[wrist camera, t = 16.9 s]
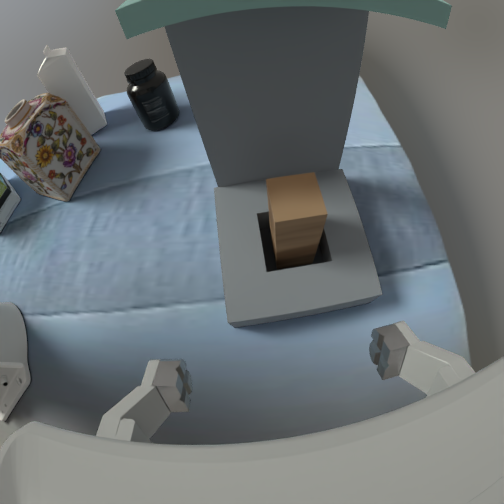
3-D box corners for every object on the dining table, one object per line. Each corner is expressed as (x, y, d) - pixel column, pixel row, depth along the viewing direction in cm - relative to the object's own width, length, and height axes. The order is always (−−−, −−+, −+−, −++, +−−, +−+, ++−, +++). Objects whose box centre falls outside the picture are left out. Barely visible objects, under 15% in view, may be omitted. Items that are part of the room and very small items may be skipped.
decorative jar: (103, 149, 42) (54, 77, 25) (69, 204, 38) (3, 138, 21) (67, 147, 44) (22, 89, 28) (37, 194, 40) (-19, 141, 24)
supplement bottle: (185, 106, 43) (167, 52, 32) (171, 131, 41) (147, 74, 30) (153, 108, 44) (131, 59, 33) (138, 133, 42) (110, 82, 31)
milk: (104, 112, 47) (61, 34, 26) (107, 125, 45) (59, 40, 24) (81, 127, 46) (33, 54, 26) (82, 141, 44) (29, 62, 24)
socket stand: (370, 302, 28) (568, 110, 3) (234, 327, 29) (12, 134, 3) (332, 176, 35) (365, -35, 9) (219, 193, 35) (147, -21, 10)
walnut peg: (312, 263, 30) (327, 214, 20) (276, 269, 30) (274, 222, 20) (304, 231, 32) (314, 172, 21) (270, 236, 32) (265, 179, 22)
